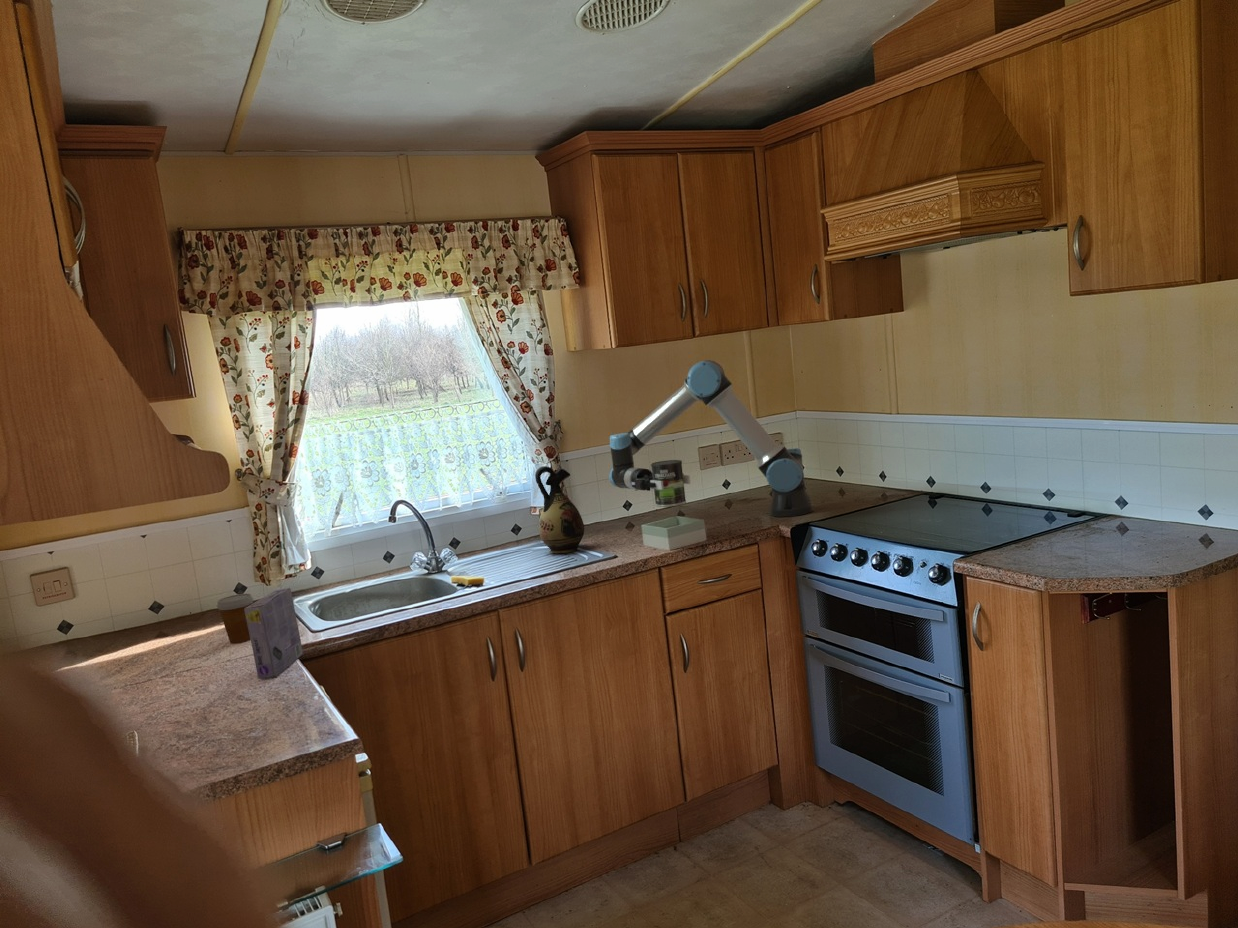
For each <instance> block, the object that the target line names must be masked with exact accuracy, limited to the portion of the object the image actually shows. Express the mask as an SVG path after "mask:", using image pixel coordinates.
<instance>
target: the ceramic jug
mask: <svg viewBox="0 0 1238 928" xmlns="http://www.w3.org/2000/svg"><path fill="white" fill-rule="evenodd" d="M544 473H549V476H548V477H547V479H546V481H545V485H546V486H550V490H549V492H548V491H547V490H546V488H545V485H544V484H543V481H542V479H541V476H542V474H544ZM534 476H535V478H534V479H535V482H536V484H537V486H538V489H539V490H540V492H541V494H542V496H543V507H542V511H541V513H540V517H539V521H538V522H539V523H538V532H539V533H538V534H539V537H540V539H541V541H542V543H543V544H544V545H546V547H547V548H548V549H549V550H550V553H551V554H566V553H573V552H577V551H578V550H579V549H578V548H579V545H580V544H581V542H582V540H583V538H584V533H585V524H584V521H583V518H582V514H580V511H579V510H578V508H577V506H576V505H575V504H574V503H573V502H572V500H570V498H569V497H568V496H567V495H566V494H565V493H564V492H563V490H562V489H561V488H562V487H561V483H562V482H563V481H565V480H567V479H568V478H569V477H571V473H569V472H568V471H567V470H566V469H564V468H563V467H561V468H557V469H556V470H554V469H553V468H552V467H550V466H546V465H545V466H544V465H543V466H540V467H539V468H537V470H536V472H535V475H534Z"/></svg>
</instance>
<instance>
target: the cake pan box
mask: <svg viewBox="0 0 1238 928" xmlns="http://www.w3.org/2000/svg"><path fill="white" fill-rule="evenodd" d="M244 611H245V616H246V621H247V625H248V630H249V635H250V639H251V640H250V643H251V648H252V654H253V659H254V663H255V664H254V665H255V669H256V673H257V679H260V680H262V679H273V678H277V677H278V676H279V675H281V673H283V672H284V671H285V670H286V669H288V668H290V666H292V665H293V664H294V662H296V661H297V660H298V659H299V658H300V657H302V656H303V655H304V651H303V645H302V641H301V636H300V630H299V624H298V620H297V616H296V609H295V605H294V599H293V594H292V589H291V587H287V588H283V589H279V590H273V591H272V592H271V593H269V594H267V595H265V596H263V597H261V598H260V599H258V600H257V601H255V602H253V603H252V604H251V605H250V606H248V607H246V608H244Z"/></svg>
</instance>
